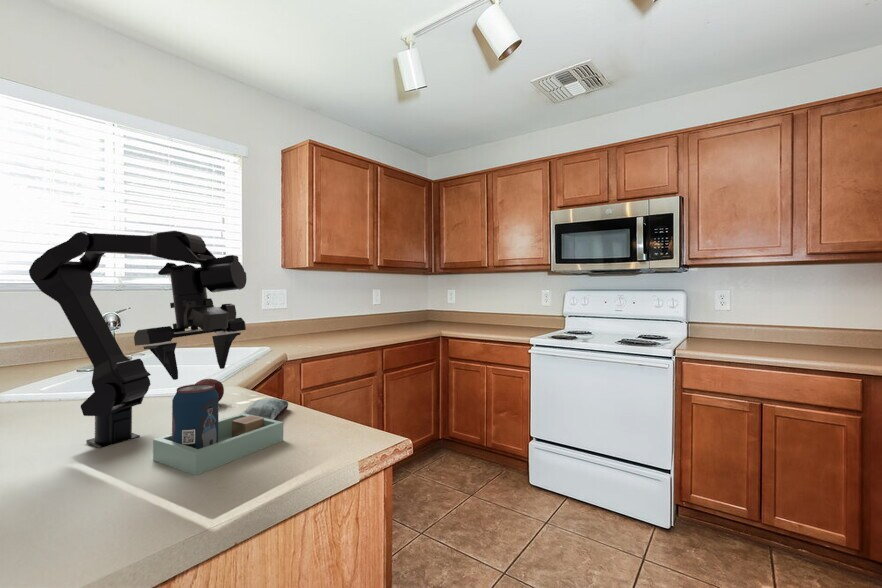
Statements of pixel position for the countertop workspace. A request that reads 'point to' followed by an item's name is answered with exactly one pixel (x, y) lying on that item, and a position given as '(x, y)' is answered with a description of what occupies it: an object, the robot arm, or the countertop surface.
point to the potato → (217, 384)
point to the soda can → (195, 415)
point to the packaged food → (267, 408)
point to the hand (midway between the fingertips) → (200, 373)
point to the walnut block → (246, 425)
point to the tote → (217, 446)
